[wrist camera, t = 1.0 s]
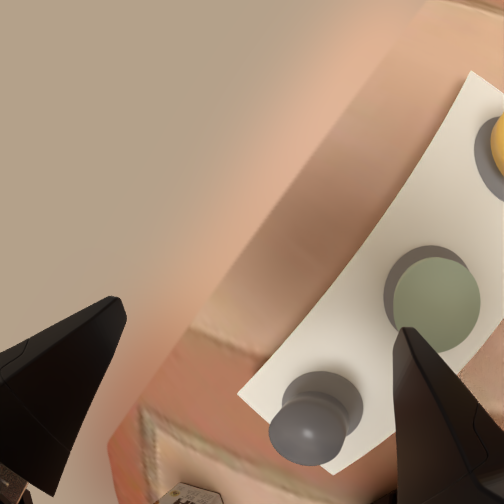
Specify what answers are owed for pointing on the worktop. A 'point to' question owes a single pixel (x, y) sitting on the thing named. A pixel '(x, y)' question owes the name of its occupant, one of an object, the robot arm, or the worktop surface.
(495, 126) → the button amber
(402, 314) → the button sage
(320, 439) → the button charcoal
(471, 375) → the worktop surface
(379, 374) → the button panel
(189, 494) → the coffee box
